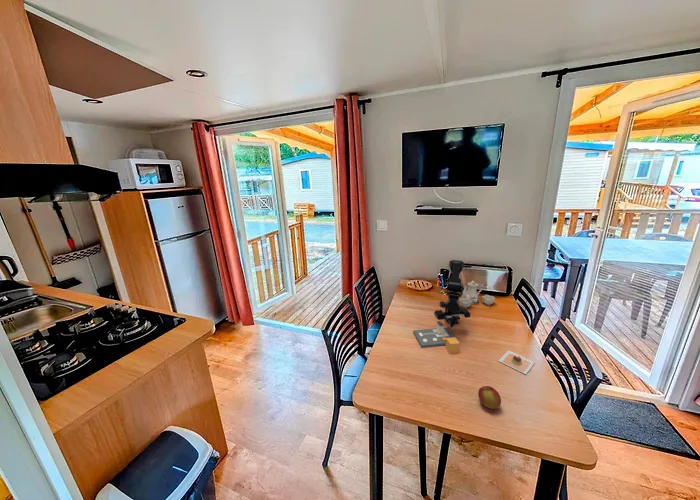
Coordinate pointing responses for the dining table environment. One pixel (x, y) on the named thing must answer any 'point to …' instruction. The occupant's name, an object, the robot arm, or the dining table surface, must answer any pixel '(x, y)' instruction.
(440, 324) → the lever
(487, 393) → the apple
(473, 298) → the chinaware
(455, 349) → the mustard yellow cube
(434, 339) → the breaker panel
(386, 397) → the dining table surface
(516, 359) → the dessert
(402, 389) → the dining table surface
